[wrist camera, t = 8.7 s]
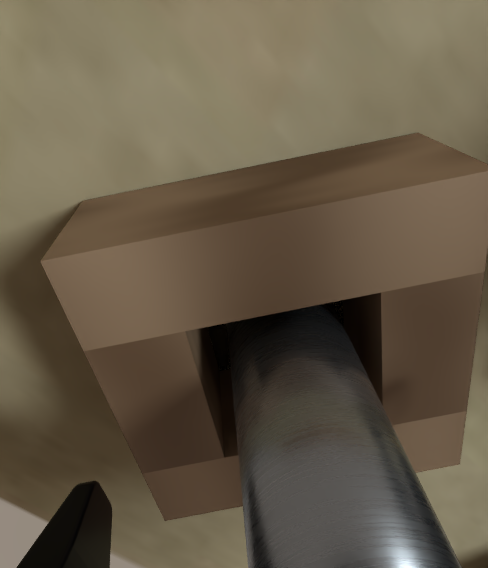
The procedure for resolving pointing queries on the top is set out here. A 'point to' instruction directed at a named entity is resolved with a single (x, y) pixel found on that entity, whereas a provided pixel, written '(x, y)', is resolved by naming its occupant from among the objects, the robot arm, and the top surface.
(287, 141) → the top surface
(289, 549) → the cylinder
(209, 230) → the socket block
